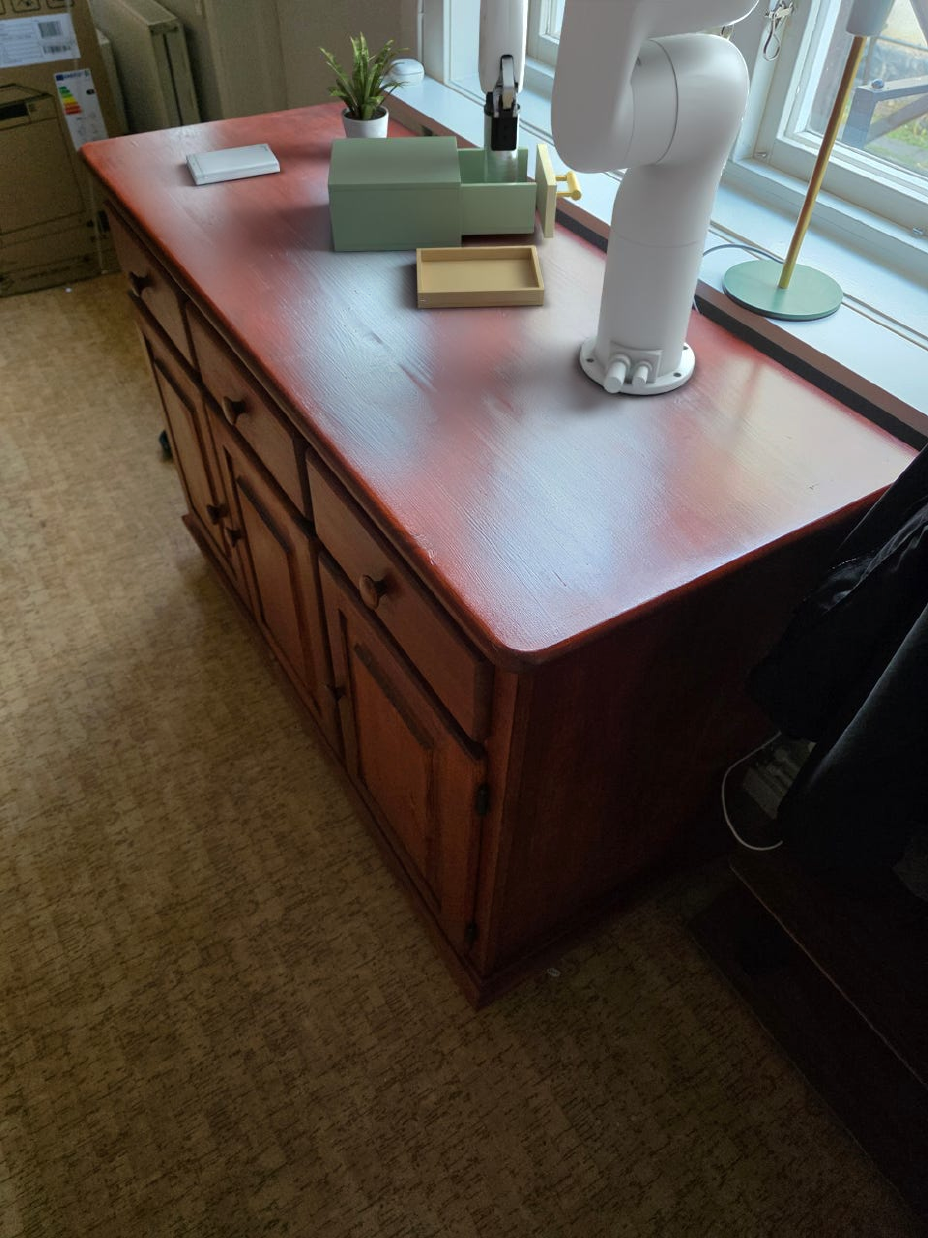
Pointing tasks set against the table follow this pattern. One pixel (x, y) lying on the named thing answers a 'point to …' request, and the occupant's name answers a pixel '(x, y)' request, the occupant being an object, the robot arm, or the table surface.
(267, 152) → the hard drive
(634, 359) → the robot arm
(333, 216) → the cabinet
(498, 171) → the canister
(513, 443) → the table surface
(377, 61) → the house plant
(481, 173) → the drawer
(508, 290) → the tray
